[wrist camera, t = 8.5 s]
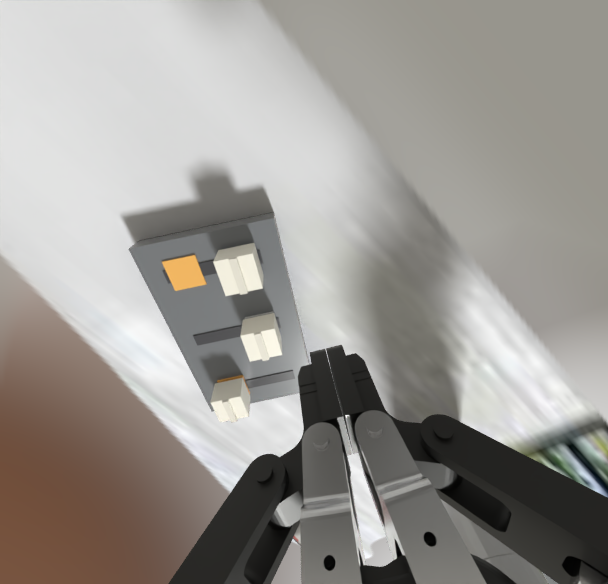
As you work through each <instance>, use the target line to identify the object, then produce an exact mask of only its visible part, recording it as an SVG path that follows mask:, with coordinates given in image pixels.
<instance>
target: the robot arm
mask: <svg viewBox="0 0 608 584" xmlns="http://www.w3.org/2000/svg"><path fill="white" fill-rule="evenodd" d="M326 350H327V354H328V358H329V362H328V358H327V354H326V351H325V349H322V350H318V351H314V352H310V357H311V362H312V364H310V365H306V366H302V367H301V368H300V371H299V374H298V384H299V392H300V400H301V408H302V416H303V424H304V432H303V436H302V438H301V440H300V442H299V443H298V444H297V446H296V447H295V448H293V449H292V450H291V451H289V452H287V453H286V454H284V455H282V456H281V457H278V456H276V455H273V454H265V455H262V456H260V457H258V458H256V459H255V460H254V461H253V462H252V463H251V464H250V465H249V467H248V468H247V470H246V471H245V473H244V474H243V476H242V477H241V479H240V480H239V481H238V483H237V484H236V486H235V487H234V489H233V490H232V492H231V493H230V495H229V496H228V498H227V499H226V500H225V502H224V503H223V505H222V506H221V508H220V509H219V511H218V512H217V514H216V515H215V516H214V518H213V519H212V521H211V522H210V524H209V525H208V527H207V528H206V530H205V531H204V533H203V534H202V535H201V537H200V538H199V540H198V541H197V543H196V544H195V546H194V547H193V549H192V550H191V552H190V553H189V555H188V556H187V557H186V559H185V560H184V562H183V563H182V565H181V566H180V568H179V569H178V571H177V572H176V574H175V575H174V576H173V578H172V579H171V581H170V582H169V584H271V582H272V580H273V578H274V576H275V574H276V572H277V569H278V567H279V565H280V563H281V561H282V559H283V557H284V555H285V553H286V551H287V549H288V547H289V545H290V543H291V541H292V539H293V537H294V535H295V533H296V531H297V529H298V527H299V524H300V537H301V580H302V581H301V582H302V584H549V583H548V582H547V580H546V579H545V577H544V575H543V573H545V574H546V575H547V576H549V577H550V578H551V579H553V580H554V581H556V582H557V583H558V584H608V498H607V497H605V496H603V495H601V494H599V493H597V492H595V491H593V490H591V489H589V488H587V487H585V486H584V485H582V484H580V483H578V482H576V481H574V480H572V479H570V478H568V477H566V476H564V475H562V474H560V473H558V472H556V471H554V470H552V469H550V468H549V467H547V466H545V465H543V464H541V463H539V462H537V461H535V460H533V459H531V458H529V457H527V456H525V455H523V454H521V453H519V452H517V451H515V450H513V449H512V448H510V447H508V446H506V445H504V444H502V443H500V442H498V441H496V440H494V439H492V438H490V437H488V436H486V435H484V434H482V433H480V432H478V431H477V430H475V429H473V428H471V427H469V426H467V425H465V424H463V423H461V422H459V421H457V420H455V419H453V418H451V417H449V416H446V415H438V414H437V415H431V416H429V417H427V418H426V419H424V421H423V422H422V423H410V422H403V421H399V420H397V419H395V418H393V417H392V416H391V415H389V414H388V413H387V411H386V410H385V408H384V406H383V404H382V402H381V399H380V397H379V395H378V392H377V390H376V387H375V385H374V383H373V380H372V379H371V376H370V373H369V371H368V369H367V366H366V364H365V362H364V360H363V359H362V358H361V357H360V356H358V355H357V354H356V353H355V354H351V355H347V356H346V355H345V352H344V350H343V347H342V345H339V346H334V347H330V348H326ZM329 363H330V366H329ZM330 367H331V369H330ZM331 372H332V373H331ZM332 376H333V377H332ZM333 380H334V381H333ZM336 391H337V392H336ZM337 395H338V396H337ZM339 402H340V403H339ZM340 406H341V407H340ZM341 410H342V411H341ZM343 417H344V419H343ZM344 421H345V423H344ZM345 425H346V427H345ZM346 429H347V432H348V436H349V440H350V444H351V447H352V451H353V454H354V453H359V456H360V460H361V463H362V467H363V472H364V476H365V478H366V481H367V484H368V487H369V490H370V492H371V495H372V498H373V501H374V503H375V506H376V509H377V512H378V515H379V517H380V520H381V523H382V526H383V529H384V532H385V535H386V538H387V542H388V545H389V548H390V551H391V554H392V557H393V560H394V561H392V562H391V563H389V564H388V565H386V566H384V567H375V566H367V565H366V563H365V558H364V552H363V547H362V542H361V537H360V531H359V526H358V520H357V514H356V508H355V502H354V496H353V490H352V484H351V478H350V476H351V471H350V466H349V462H348V458H347V455H351V450H350V445H349V441H348V436H347V432H346ZM541 571H542V572H543V573H542V572H541Z"/></svg>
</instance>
